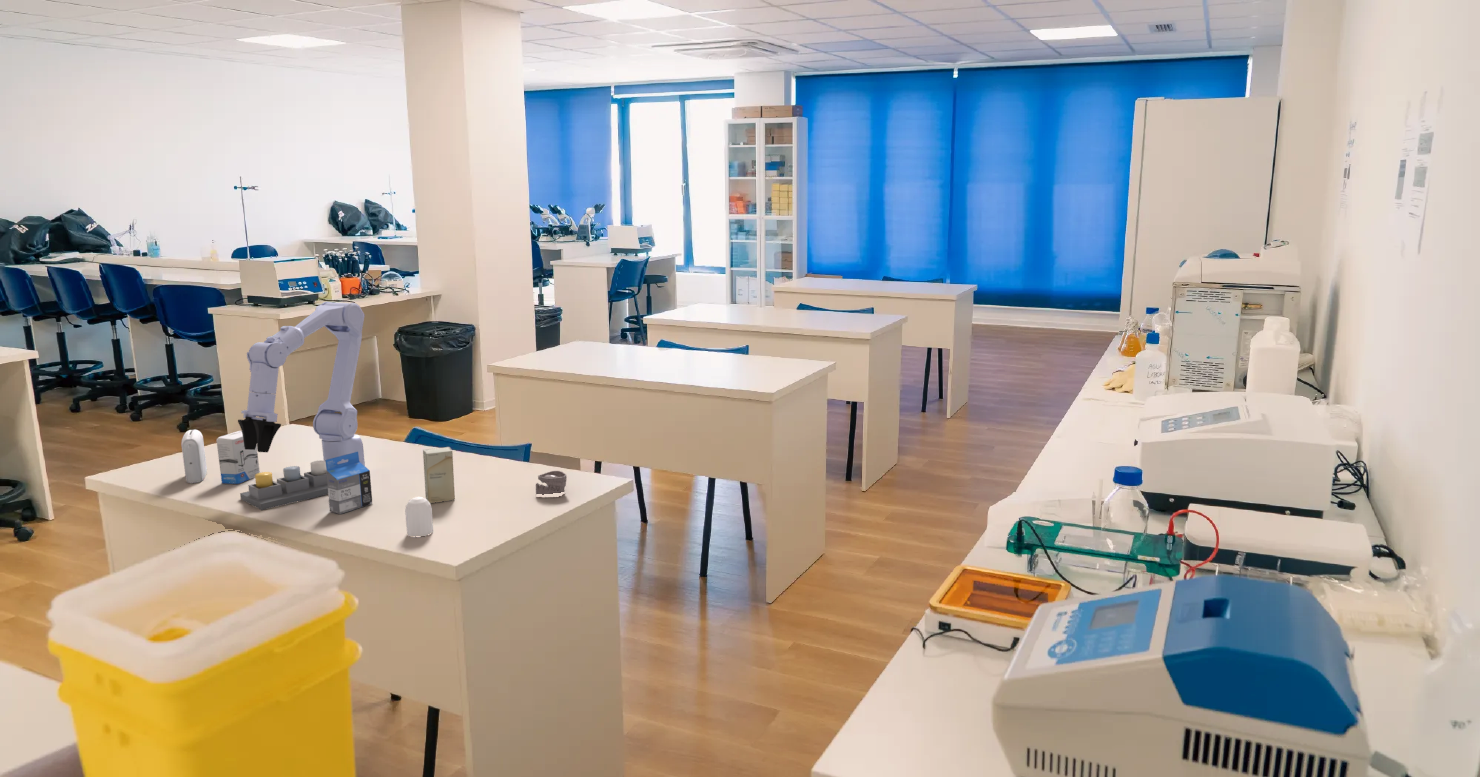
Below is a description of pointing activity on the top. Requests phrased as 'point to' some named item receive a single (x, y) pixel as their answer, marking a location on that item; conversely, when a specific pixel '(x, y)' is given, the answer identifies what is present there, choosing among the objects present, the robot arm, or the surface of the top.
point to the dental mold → (551, 482)
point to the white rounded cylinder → (419, 517)
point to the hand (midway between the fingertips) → (256, 450)
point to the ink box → (236, 459)
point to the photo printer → (194, 456)
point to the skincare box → (439, 474)
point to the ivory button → (318, 468)
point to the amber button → (264, 479)
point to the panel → (286, 491)
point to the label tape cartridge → (348, 484)
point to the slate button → (292, 473)
